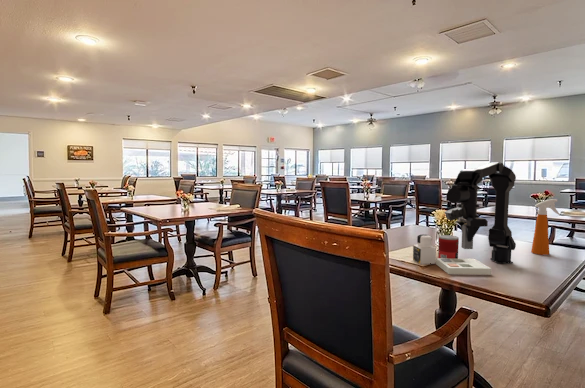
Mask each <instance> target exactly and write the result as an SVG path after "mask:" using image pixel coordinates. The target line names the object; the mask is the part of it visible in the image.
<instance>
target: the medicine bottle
mask: <svg viewBox="0 0 585 388" xmlns="http://www.w3.org/2000/svg"><path fill="white" fill-rule="evenodd" d="M416 238H417V240H416V242H417V243H416V244H413V247H412V249H413V250H412V260H413V261H414V262H415V263H417V264H419V265H436V258H437V248H436V247H435V246H433V236H432V235H429V234H424V233H423V234H419V235H417V237H416ZM430 263H431V264H430Z"/></svg>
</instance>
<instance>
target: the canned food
mask: <svg viewBox="0 0 585 388" xmlns="http://www.w3.org/2000/svg"><path fill="white" fill-rule="evenodd" d="M459 241H460V240H459V237H458V236H457V235H451V234H440V235H438V256H437V257H438V258H453V259H459Z"/></svg>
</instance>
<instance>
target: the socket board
mask: <svg viewBox="0 0 585 388" xmlns="http://www.w3.org/2000/svg"><path fill="white" fill-rule="evenodd" d="M435 265H436V266H438V267H439V268H440V269H441V270H443V271H444V272H445V273H446V274H447V275H464V276H465V275H471V276H472V275H473V276H474V275H476V276H477V275H480V276H492V267H489V266H488V265H485V264H484V263H483V262H481V261H479V260H478V259H475V258H458V259H453V258H437V257H436V264H435Z"/></svg>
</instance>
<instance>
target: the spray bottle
mask: <svg viewBox="0 0 585 388" xmlns="http://www.w3.org/2000/svg"><path fill="white" fill-rule="evenodd" d="M556 203H558V198H551V199H547V200H543V201H540V202H538V203H536V204H535V205H534V207H535V208H538V210H537V216H536V221H535V229H534V233H533V239H532V245H531V253H532V254H535V255H541V256H548V255H550V242H549V240H550V239H549V226H548V225H549V224H548V223H549V222H548V209H551V210H552V211H553V212H554V213H555V214H557V215H558V216H561V214H560V212H559V211H558V209H557V208H556Z"/></svg>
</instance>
